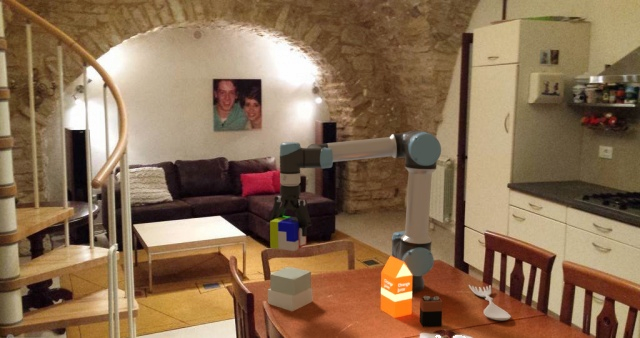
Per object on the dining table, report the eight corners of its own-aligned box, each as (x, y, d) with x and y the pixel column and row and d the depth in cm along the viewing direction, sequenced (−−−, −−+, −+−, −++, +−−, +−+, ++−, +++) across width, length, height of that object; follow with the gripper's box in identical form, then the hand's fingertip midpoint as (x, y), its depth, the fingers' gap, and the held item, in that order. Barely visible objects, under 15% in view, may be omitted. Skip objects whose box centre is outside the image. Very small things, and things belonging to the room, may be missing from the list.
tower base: (312, 302, 208) (312, 287, 207) (292, 312, 198) (292, 296, 198) (288, 295, 215) (288, 280, 214) (268, 304, 206) (267, 289, 205)
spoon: (490, 291, 219) (490, 283, 218) (514, 325, 187) (514, 315, 187) (467, 291, 219) (468, 283, 219) (487, 324, 188) (488, 315, 187)
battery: (419, 322, 189) (419, 294, 188) (438, 321, 190) (439, 294, 188) (422, 327, 185) (423, 299, 183) (442, 327, 185) (442, 298, 184)
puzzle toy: (294, 251, 196) (294, 223, 195) (270, 247, 200) (270, 221, 199) (306, 244, 205) (306, 218, 204) (283, 241, 209) (282, 215, 208)
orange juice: (394, 318, 193) (395, 263, 190) (380, 309, 200) (381, 256, 198) (412, 314, 196) (413, 260, 193) (397, 305, 204) (398, 254, 201)
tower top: (311, 286, 208) (310, 271, 207) (294, 295, 198) (294, 279, 198) (287, 281, 214) (287, 266, 213) (270, 289, 204) (270, 274, 204)
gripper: (260, 182, 205) (260, 238, 208) (308, 189, 191) (308, 249, 194) (273, 179, 211) (274, 234, 214) (321, 186, 196) (321, 245, 199)
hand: (290, 241), depth 204 cm, fingers closed on puzzle toy, 11 cm apart
